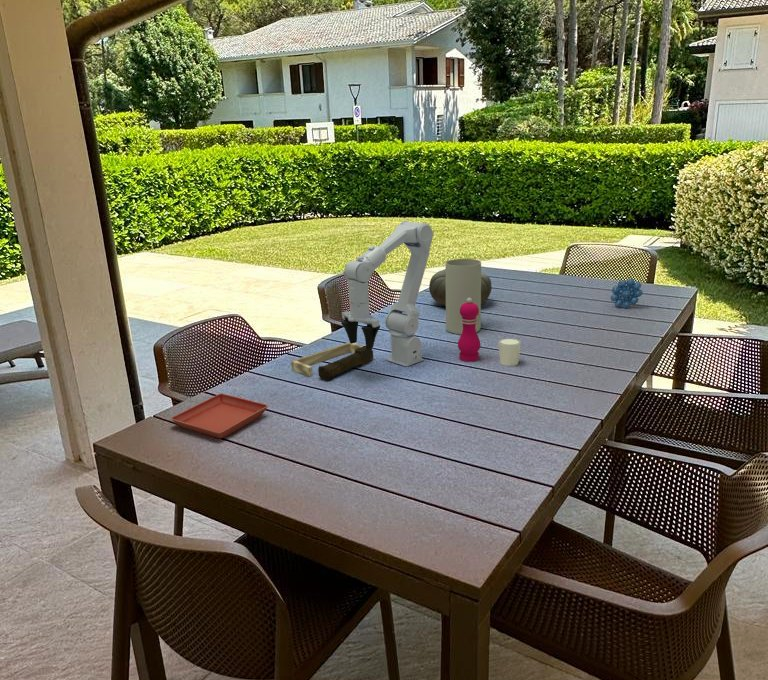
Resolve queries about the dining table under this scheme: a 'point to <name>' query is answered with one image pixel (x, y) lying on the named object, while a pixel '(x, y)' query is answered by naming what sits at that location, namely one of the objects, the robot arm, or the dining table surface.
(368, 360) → the hand tool
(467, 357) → the pepper mill
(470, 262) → the cylinder vase
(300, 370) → the beige bent bracket
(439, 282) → the gourd
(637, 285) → the grapes
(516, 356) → the cream cylinder
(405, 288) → the robot arm
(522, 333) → the dining table surface
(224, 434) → the plant saucer
